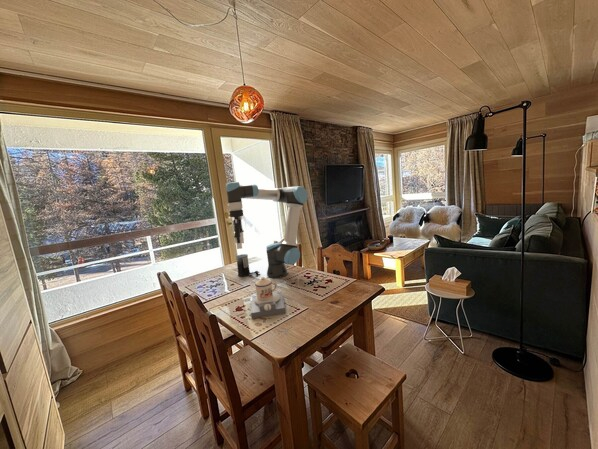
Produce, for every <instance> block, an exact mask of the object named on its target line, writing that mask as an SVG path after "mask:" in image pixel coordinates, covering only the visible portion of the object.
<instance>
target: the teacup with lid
mask: <svg viewBox="0 0 598 449" xmlns="http://www.w3.org/2000/svg"><path fill="white" fill-rule="evenodd" d="M254 285H255V290H256V291H255V292H256V296H257V299H258V300H259V301H267V300H270V299H271V298H272V297H273V292H274V291H276V290H277V286H278V285H277V283H276V282H275V281H274V282H272V280H271V278H266V277H264V276H262V277H261V278H260V279H259V280H257V281H255V283H254ZM272 285H274V288H273V286H272Z"/></svg>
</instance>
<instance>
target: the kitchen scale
mask: <svg viewBox="0 0 598 449" xmlns="http://www.w3.org/2000/svg"><path fill="white" fill-rule="evenodd" d="M251 298H252V299H251V307H250V308H251V309H250V316H251V318H250V319H252V318H253V319H257V318H258V317H259V318H265V317H270V316H277V315H283V314H286V307H285V302H284V296H283V291H278V292H274V291H273V297H272V298H271V299H270V300H267V301H259V300H258V299H257V295H253V296H252V297H251Z"/></svg>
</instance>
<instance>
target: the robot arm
mask: <svg viewBox="0 0 598 449" xmlns="http://www.w3.org/2000/svg"><path fill="white" fill-rule="evenodd" d="M225 192H226V197H227V204H226V205H227V207H228V210H229V217H230V218H234V219H233V225H234V226H233V227H234V236H233V237H234V238H235V242H236V249H237V250H240V249H243V244H244V243H245V241H244V240H245V238H244V232H245V231H244V230H243V225H242V219H241V217H243V216H244V210H243V201H242V199H246V200H247V199H248V200H249V199H251V200H265V201H266V200H268V201H272V202H277V203H284V204H286V206H287V213H286V221H285V228H284V236H283V241H282V242H276V243H270V244H268V245H267V246H266V256H267V263H268V266H267V270H266V276H267V277H268V278H269V279H278V278H283V277H286V276H287V275H288V269H287V266H286V265H290V266H291V265H295V264H296V263H297V262H298V261H299V260H300V257H301V252H300V249H299V248H298V247H299V246H298V244H297V237H298V229H299V223H300V215H301V210H302V208H304V204H305V203H306V202H307V201H308V198H309V195H308V191H307V190H306V188H305V187H303V186H301V185H299V186H298V185H295V186H285V187H279V188H278V187H274V188H273V189H272V188H264V187H263V188H262V187H259V186H258V185H257V184H255V183H254V184H252V183H251V184H242V185H241V184H240V182H238V181H233V182H227V183H225ZM234 238H233V239H234Z"/></svg>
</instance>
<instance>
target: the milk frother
mask: <svg viewBox="0 0 598 449" xmlns="http://www.w3.org/2000/svg"><path fill="white" fill-rule="evenodd" d="M248 255H249V254H247V253H246V254H239V255H236V256H235V259H236V266H237V276H238V277H247V276H250V275H252V274H255V275H258V274H259V273H260V271H258V270H255V271H254V272H253V271H252V272H251V271H250V264H249V256H248Z"/></svg>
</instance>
